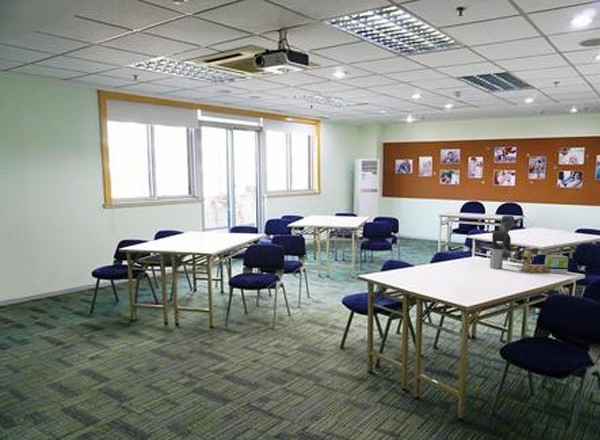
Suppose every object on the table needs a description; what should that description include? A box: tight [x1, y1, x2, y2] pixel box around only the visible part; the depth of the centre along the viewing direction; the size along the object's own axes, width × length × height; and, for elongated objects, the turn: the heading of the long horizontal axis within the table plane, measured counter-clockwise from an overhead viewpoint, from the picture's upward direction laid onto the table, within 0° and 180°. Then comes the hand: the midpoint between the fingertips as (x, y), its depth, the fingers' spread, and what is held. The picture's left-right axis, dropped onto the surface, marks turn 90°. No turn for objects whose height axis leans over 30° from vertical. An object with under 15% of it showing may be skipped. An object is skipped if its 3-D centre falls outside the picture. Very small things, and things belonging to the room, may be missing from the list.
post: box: [522, 249, 532, 265], centre depth 404 cm, size 4×4×14 cm
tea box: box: [544, 254, 569, 274], centre depth 396 cm, size 15×10×15 cm, turn 97°
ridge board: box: [519, 263, 551, 274], centre depth 394 cm, size 20×13×6 cm, turn 100°
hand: (529, 258), depth 401 cm, fingers closed on post, 4 cm apart
